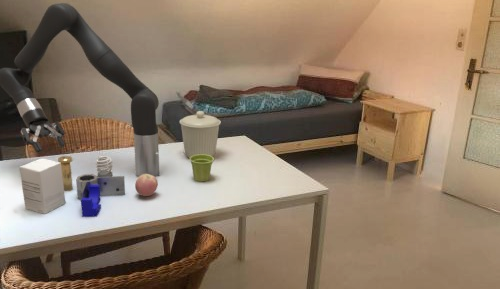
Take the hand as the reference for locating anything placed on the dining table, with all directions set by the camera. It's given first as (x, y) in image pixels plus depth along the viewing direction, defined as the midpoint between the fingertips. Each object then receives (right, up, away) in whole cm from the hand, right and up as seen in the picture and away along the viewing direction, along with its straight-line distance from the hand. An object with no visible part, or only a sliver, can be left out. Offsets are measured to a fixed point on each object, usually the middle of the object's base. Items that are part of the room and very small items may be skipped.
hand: (52, 149), depth 157 cm
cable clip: (+20, -20, -13) cm, 31 cm away
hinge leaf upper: (+20, -16, -4) cm, 26 cm away
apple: (+35, -17, -3) cm, 39 cm away
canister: (+50, -4, +38) cm, 63 cm away
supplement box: (+4, -19, -14) cm, 24 cm away
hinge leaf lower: (+16, -18, -10) cm, 26 cm away
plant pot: (+53, -12, +14) cm, 56 cm away
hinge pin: (+6, -14, -1) cm, 16 cm away
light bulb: (+19, -14, +3) cm, 23 cm away
